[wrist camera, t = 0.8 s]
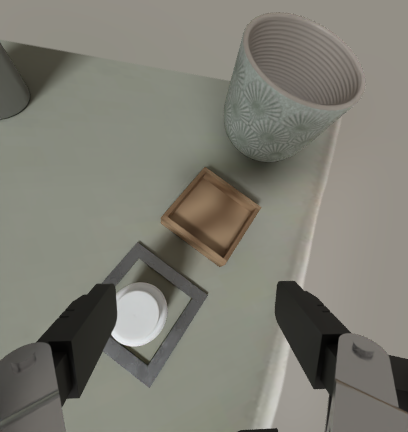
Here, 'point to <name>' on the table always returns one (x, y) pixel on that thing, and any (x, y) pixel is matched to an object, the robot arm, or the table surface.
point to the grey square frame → (198, 297)
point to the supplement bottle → (139, 314)
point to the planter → (288, 86)
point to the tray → (211, 216)
